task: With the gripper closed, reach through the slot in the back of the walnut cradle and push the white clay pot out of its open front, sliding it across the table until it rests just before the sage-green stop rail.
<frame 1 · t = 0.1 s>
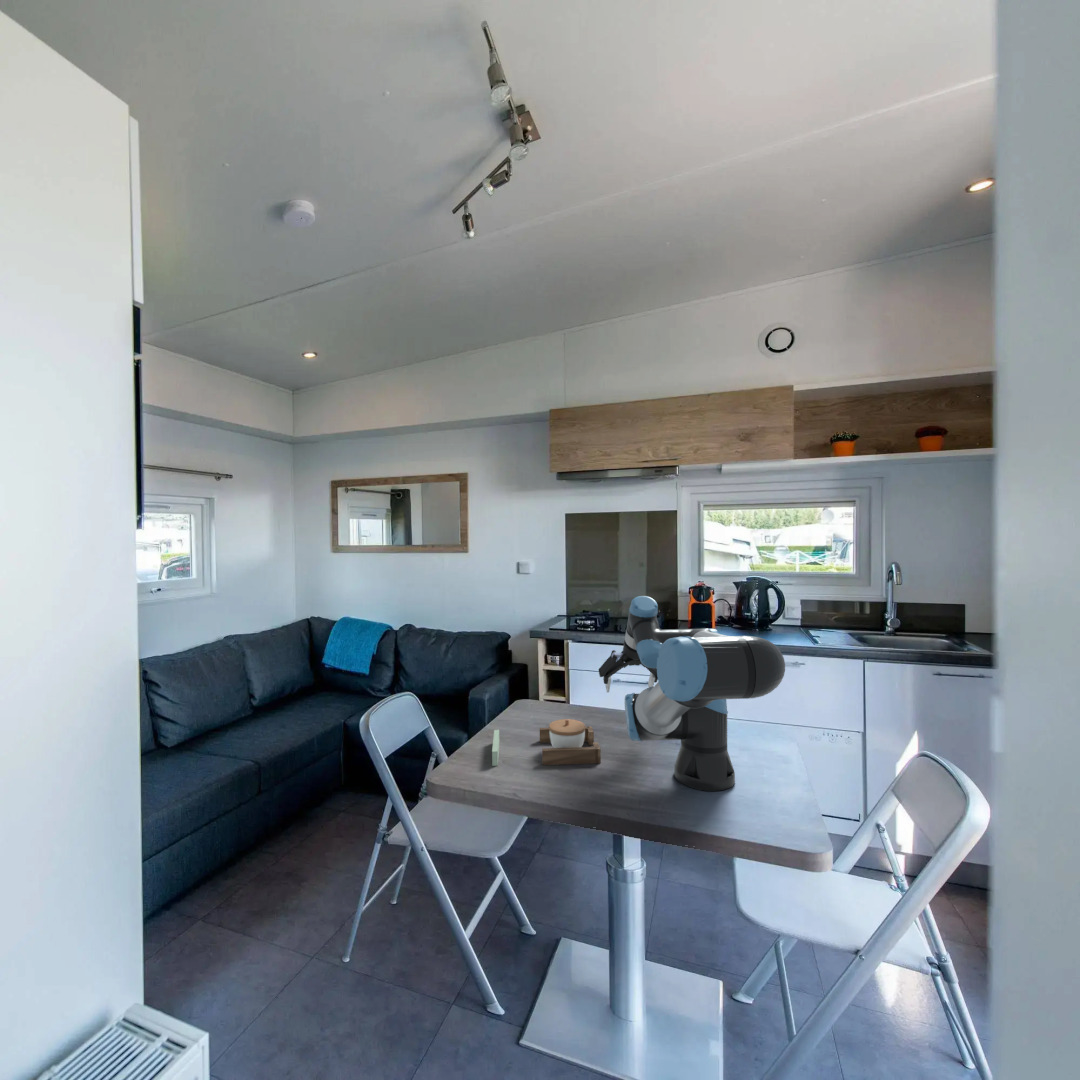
hand: (628, 688, 163), 15 cm above the table, tool tilted 35°, fingers open, 13 cm apart
lidded jar: (567, 752, 153), on the table
stop rail: (496, 753, 152), on the table
cradle: (567, 751, 153), on the table
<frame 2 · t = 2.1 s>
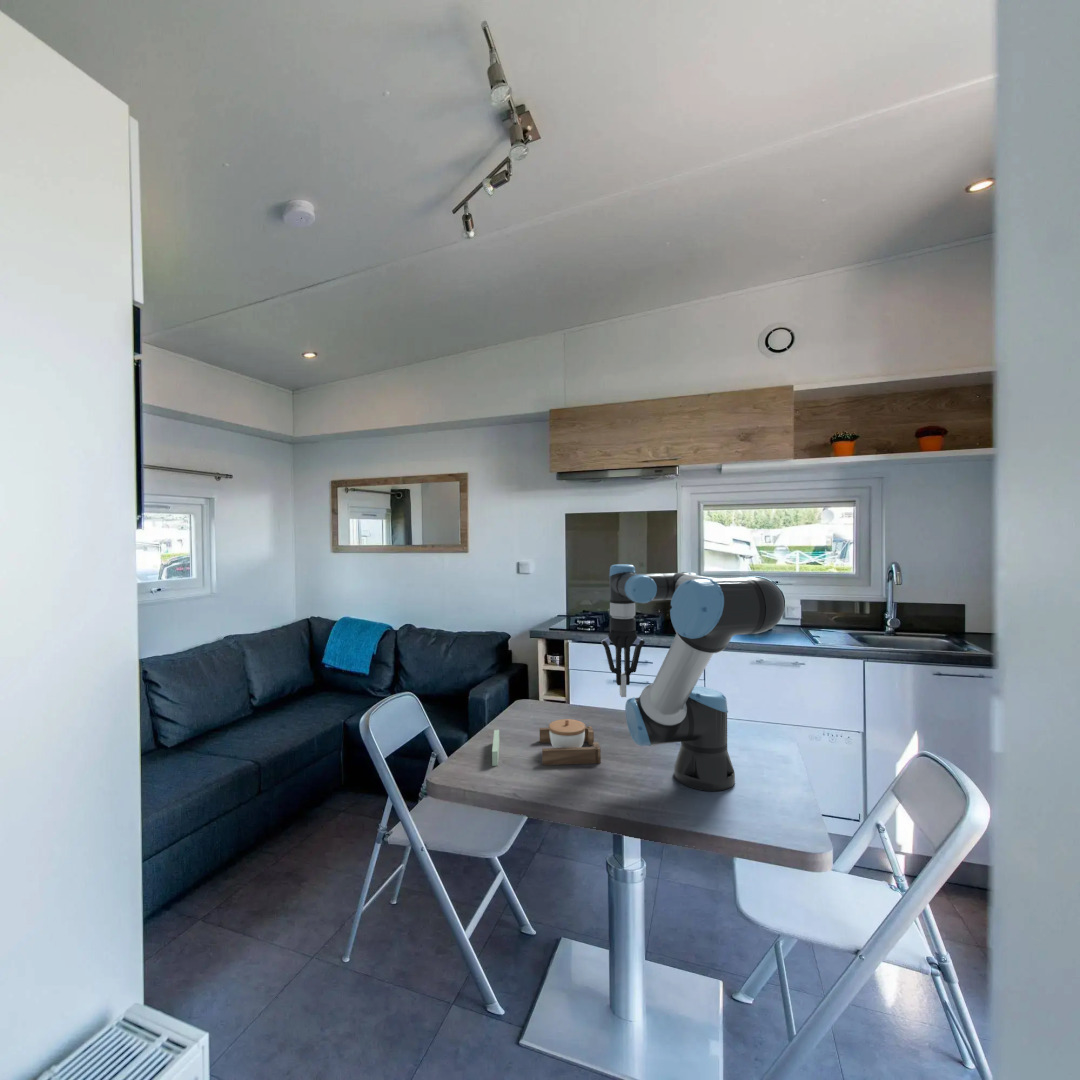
hand: (622, 695, 154), 16 cm above the table, tool pointing down, fingers closed
nothing on the table moved.
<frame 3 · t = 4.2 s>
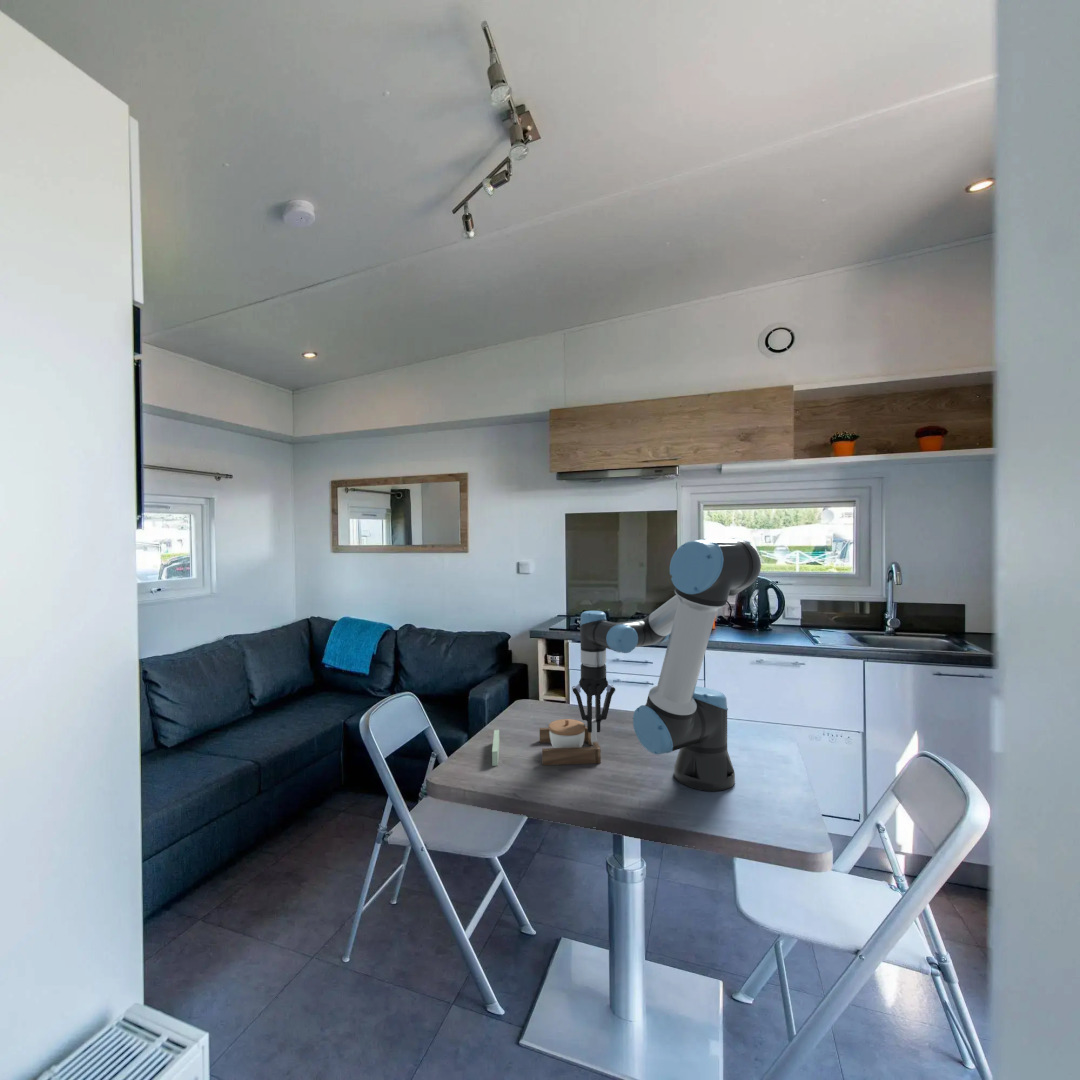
hand: (593, 742, 154), 2 cm above the table, tool pointing down, fingers closed
lidded jar: (567, 752, 153), on the table, touching gripper
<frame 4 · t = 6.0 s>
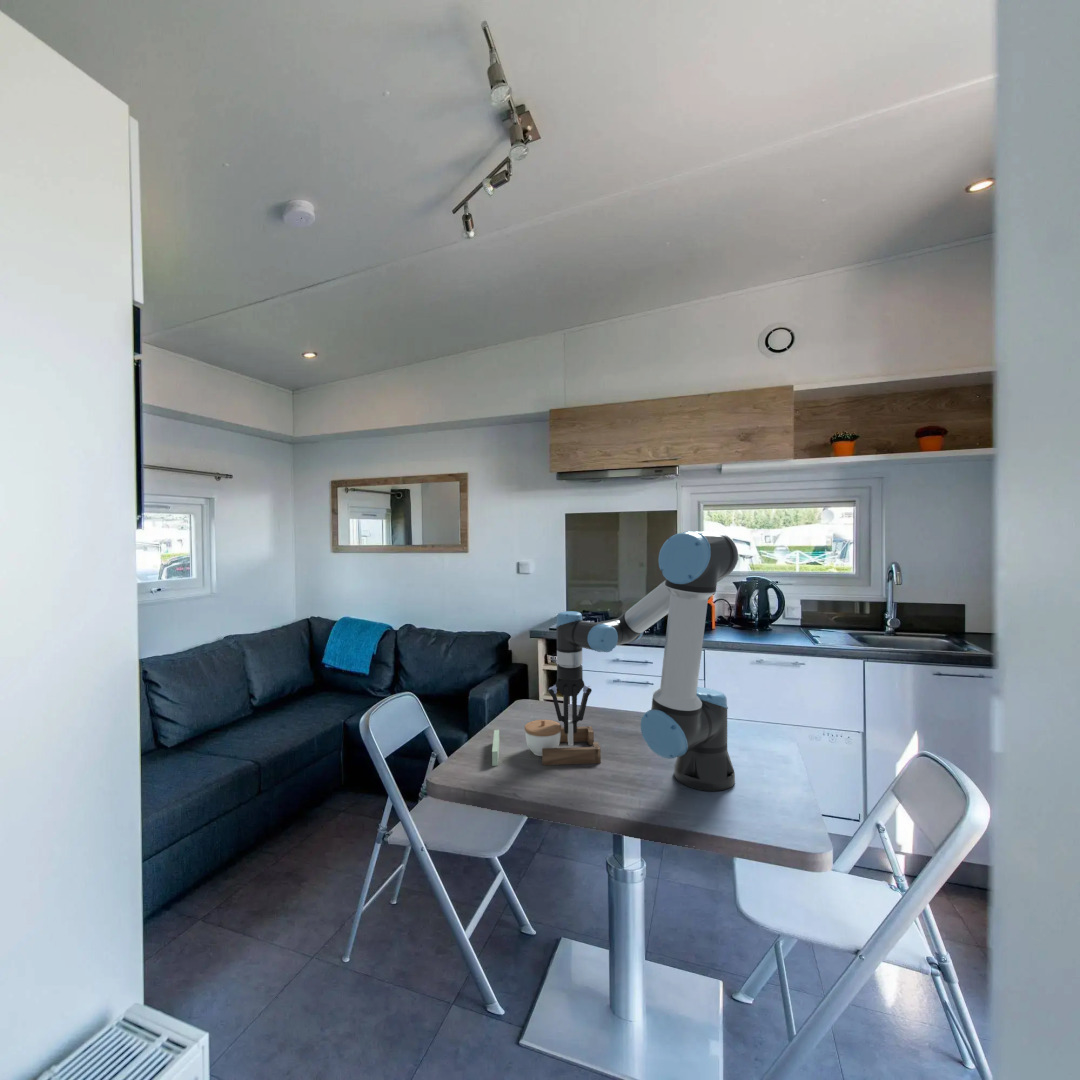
hand: (570, 743, 153), 2 cm above the table, tool pointing down, fingers closed
lidded jar: (543, 752, 153), on the table, touching gripper
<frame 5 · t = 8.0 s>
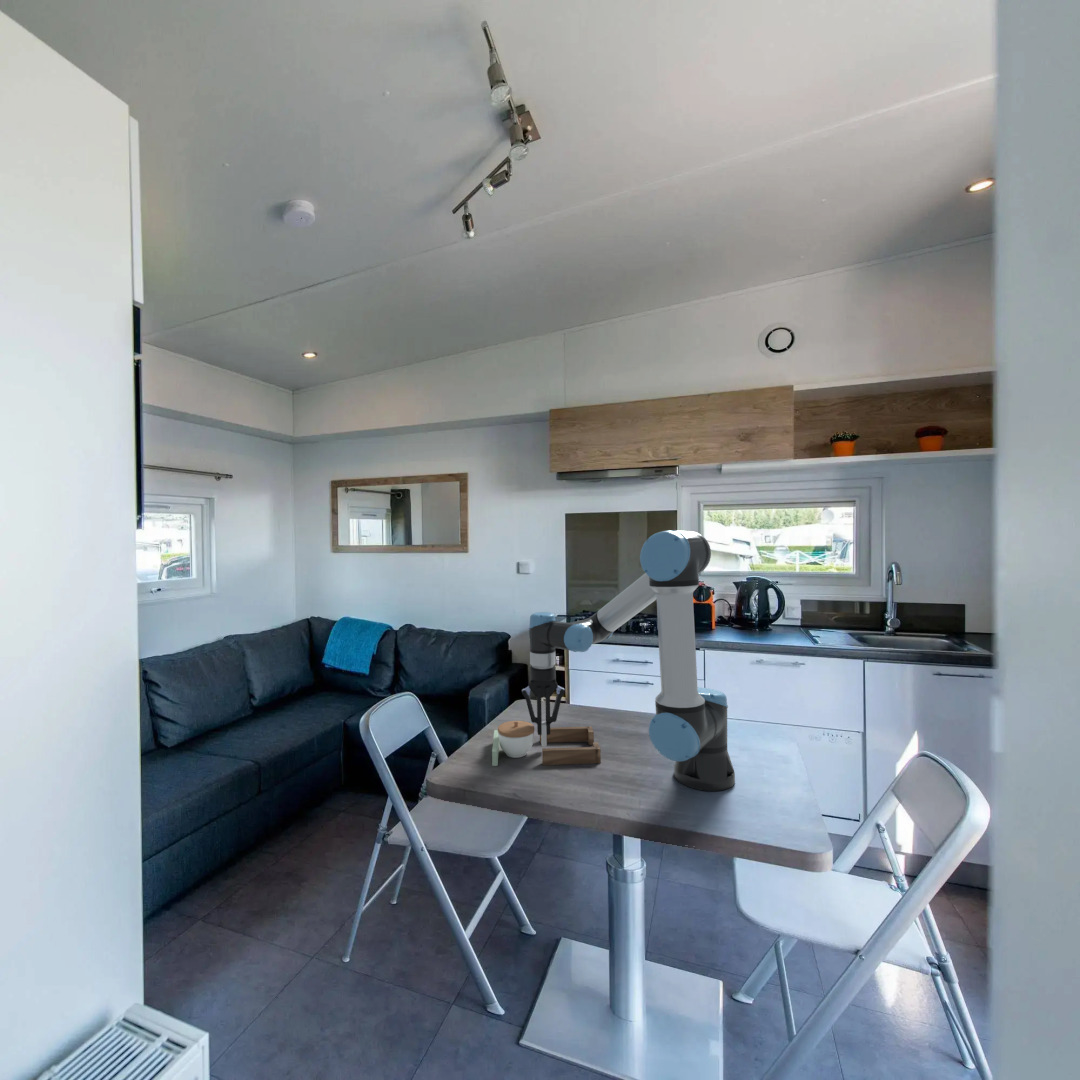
hand: (544, 745, 153), 2 cm above the table, tool pointing down, fingers closed
lidded jar: (516, 754, 152), on the table, touching gripper
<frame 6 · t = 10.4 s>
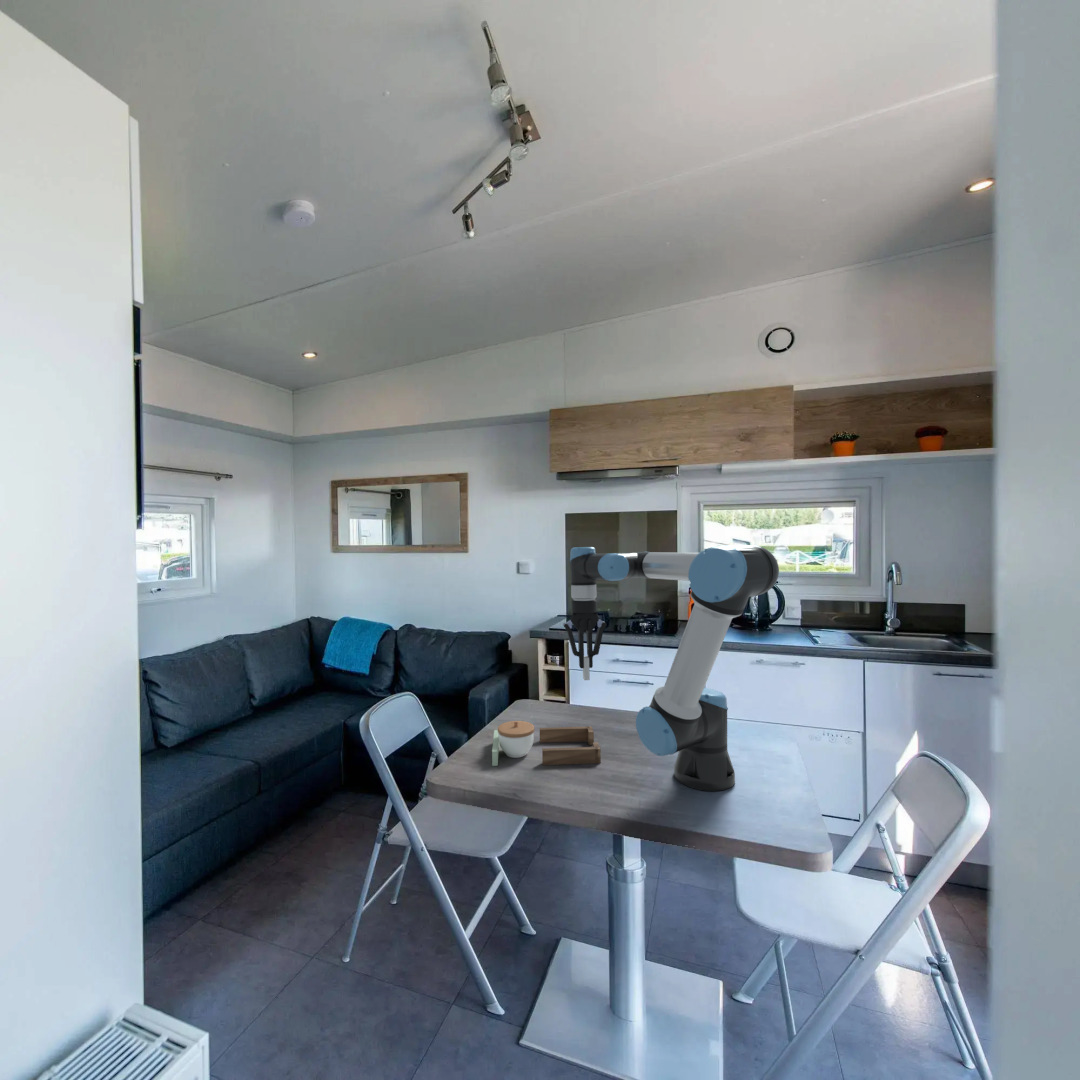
hand: (586, 679, 153), 21 cm above the table, tool pointing down, fingers closed
lidded jar: (516, 754, 152), on the table
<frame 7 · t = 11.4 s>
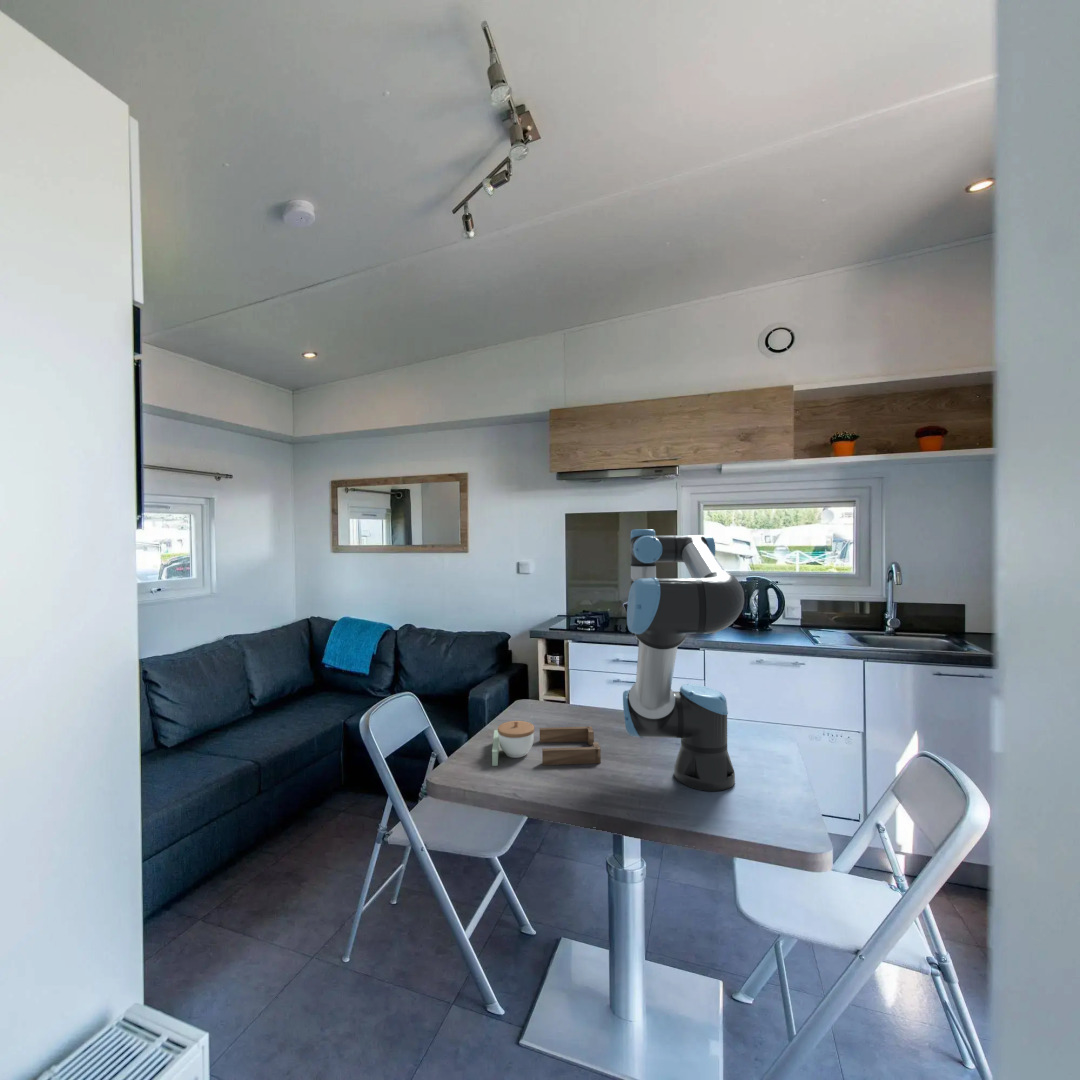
hand: (644, 657, 157), 26 cm above the table, tool pointing down, fingers closed
nothing on the table moved.
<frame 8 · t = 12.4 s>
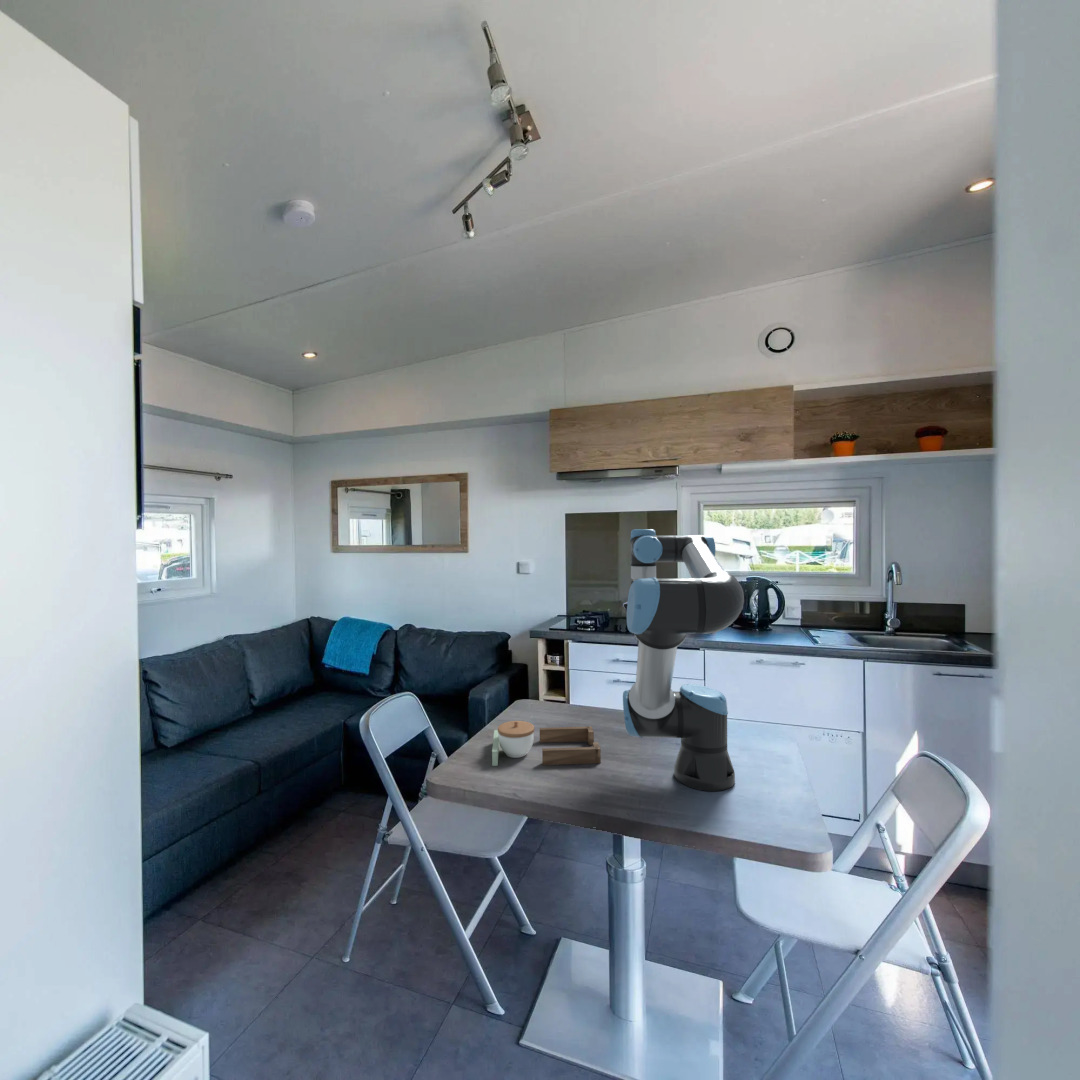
hand: (644, 657, 157), 26 cm above the table, tool pointing down, fingers closed
nothing on the table moved.
at the end: lidded jar inside the target area (1.2 cm from its centre), on the table; lidded jar tilted 0°; lidded jar moved 15.0 cm from its start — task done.
